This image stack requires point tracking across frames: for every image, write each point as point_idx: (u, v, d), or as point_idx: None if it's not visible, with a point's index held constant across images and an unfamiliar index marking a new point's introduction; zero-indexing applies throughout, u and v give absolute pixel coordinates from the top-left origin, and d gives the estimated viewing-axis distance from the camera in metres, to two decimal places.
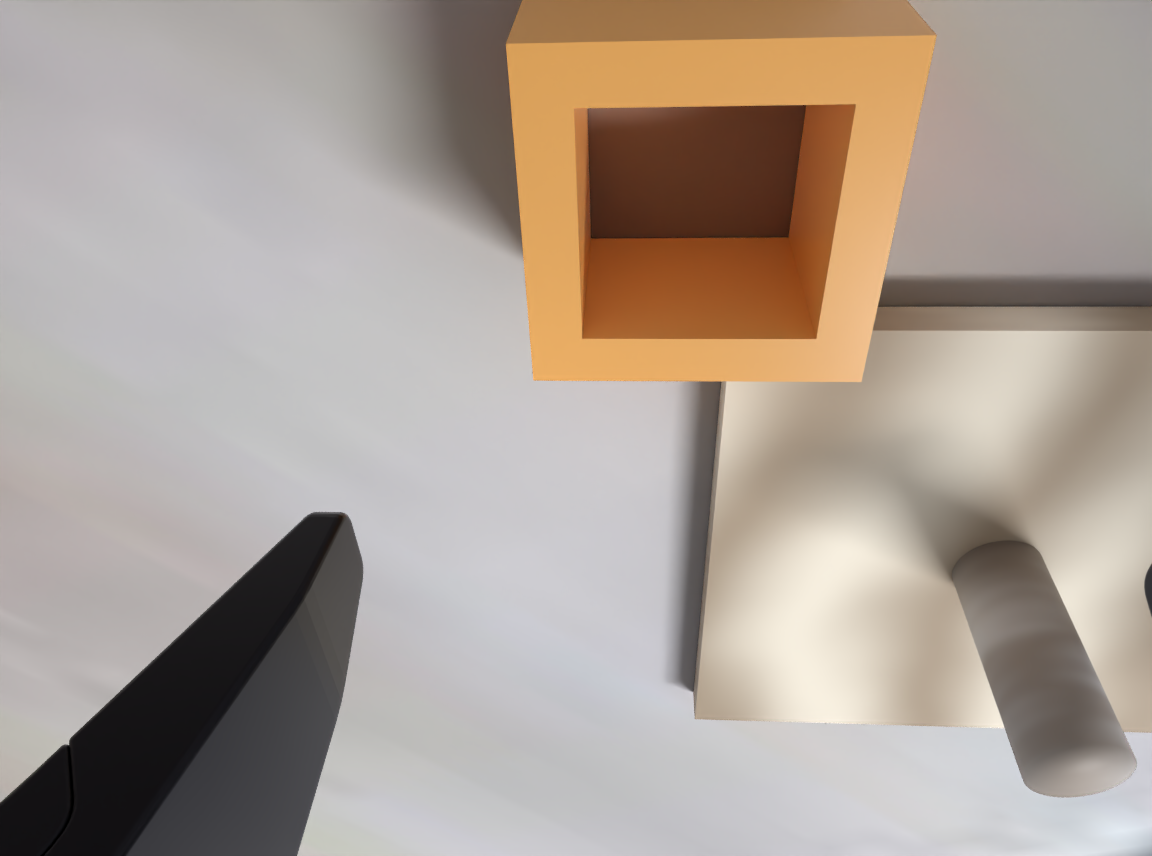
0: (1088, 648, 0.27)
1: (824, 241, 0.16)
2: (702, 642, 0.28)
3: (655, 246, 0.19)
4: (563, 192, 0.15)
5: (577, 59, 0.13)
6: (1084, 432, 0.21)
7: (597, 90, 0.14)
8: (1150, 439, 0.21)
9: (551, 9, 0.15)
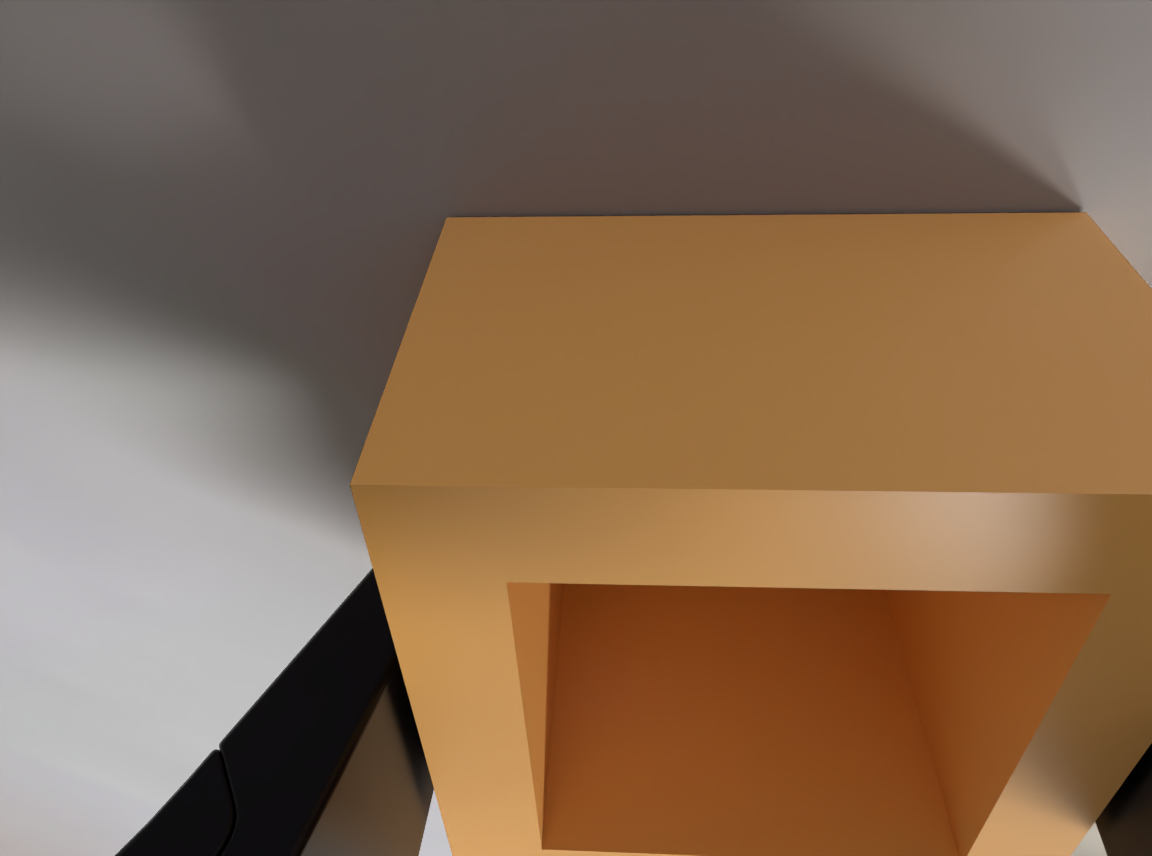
0: None
1: (987, 723, 0.09)
2: None
3: (668, 589, 0.12)
4: (494, 689, 0.08)
5: (509, 512, 0.06)
6: None
7: (554, 559, 0.06)
8: None
9: (468, 336, 0.07)
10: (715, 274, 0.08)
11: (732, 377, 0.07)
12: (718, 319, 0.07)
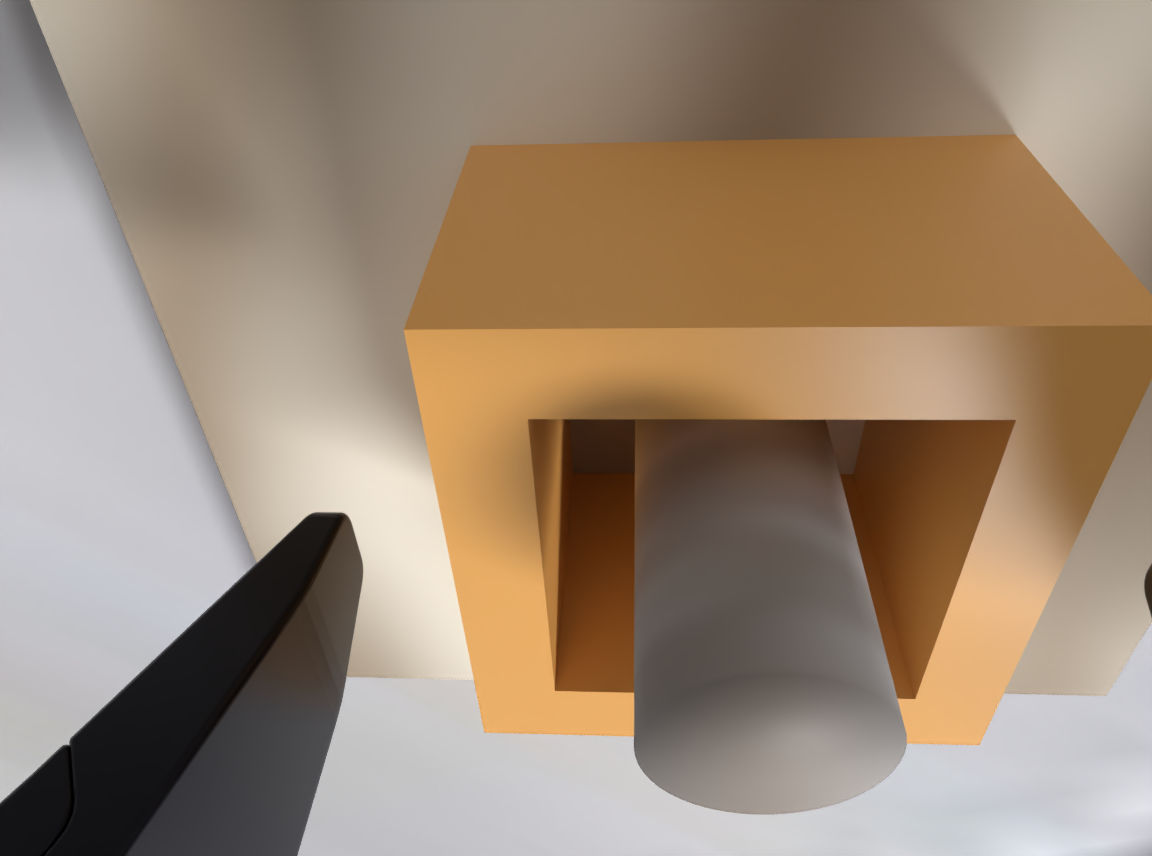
0: None
1: (933, 567, 0.10)
2: (245, 530, 0.15)
3: None
4: (516, 525, 0.09)
5: (530, 353, 0.08)
6: None
7: (566, 395, 0.08)
8: None
9: (493, 229, 0.09)
10: (698, 182, 0.10)
11: (710, 254, 0.08)
12: (700, 215, 0.09)
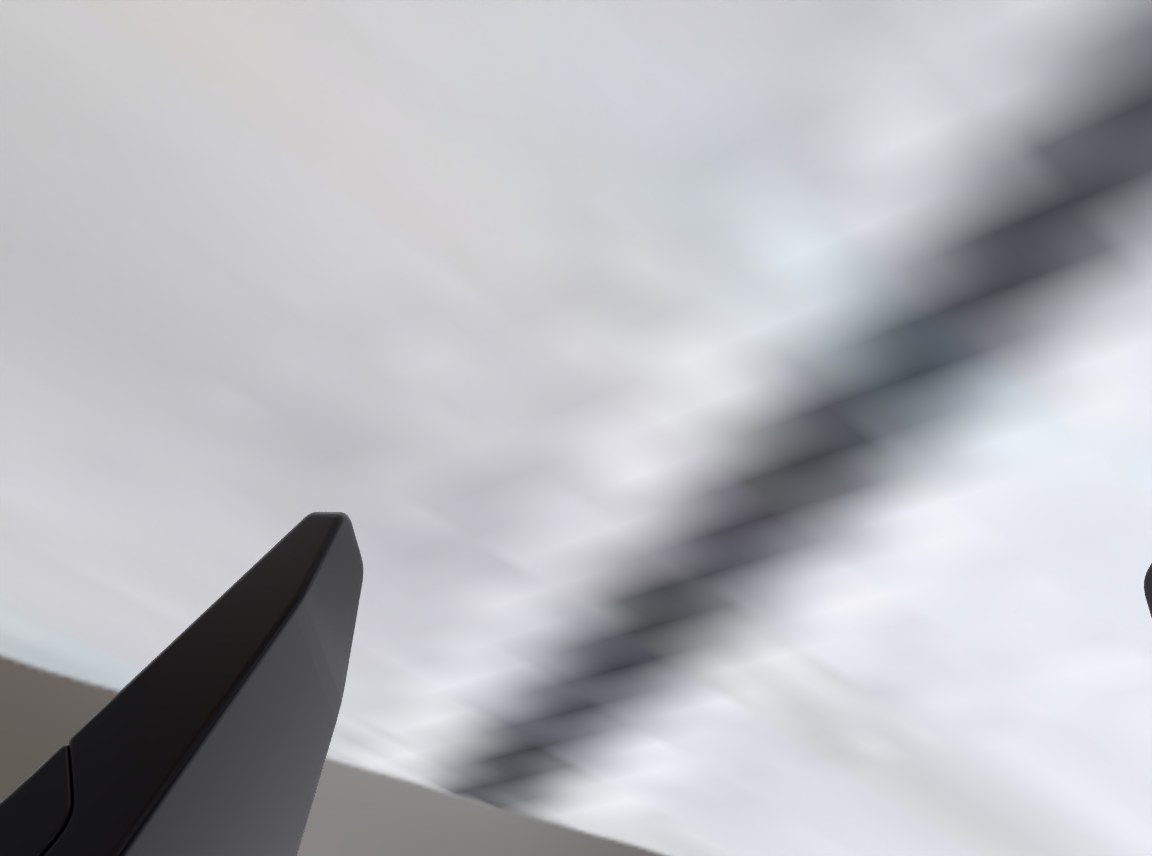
0: None
1: None
2: None
3: None
4: None
5: None
6: None
7: None
8: None
9: None
10: None
11: None
12: None
